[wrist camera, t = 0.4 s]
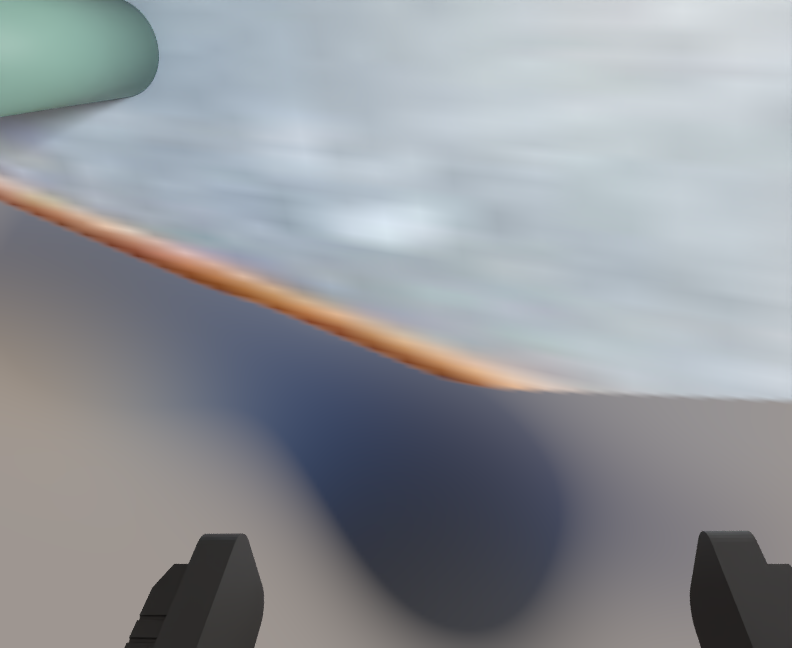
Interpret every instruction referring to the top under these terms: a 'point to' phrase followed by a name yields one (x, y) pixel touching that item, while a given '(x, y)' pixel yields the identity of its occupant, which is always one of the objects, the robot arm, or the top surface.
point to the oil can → (72, 53)
